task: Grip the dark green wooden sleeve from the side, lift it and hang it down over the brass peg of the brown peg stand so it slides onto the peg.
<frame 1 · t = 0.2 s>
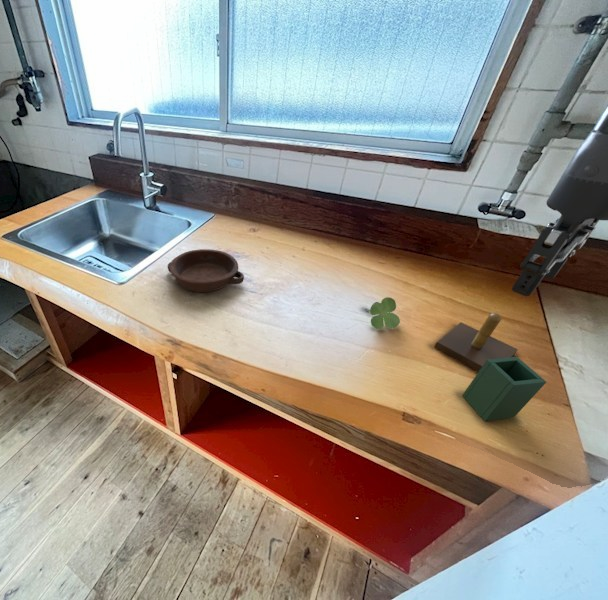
hand: (532, 284, 49), 19 cm above the worktop, tool pointing down, fingers open, 8 cm apart
sleeve: (486, 406, 53), on the worktop
green leafy piece: (380, 321, 72), on the worktop
dish: (204, 280, 88), on the worktop
brown peg stand: (473, 350, 63), on the worktop
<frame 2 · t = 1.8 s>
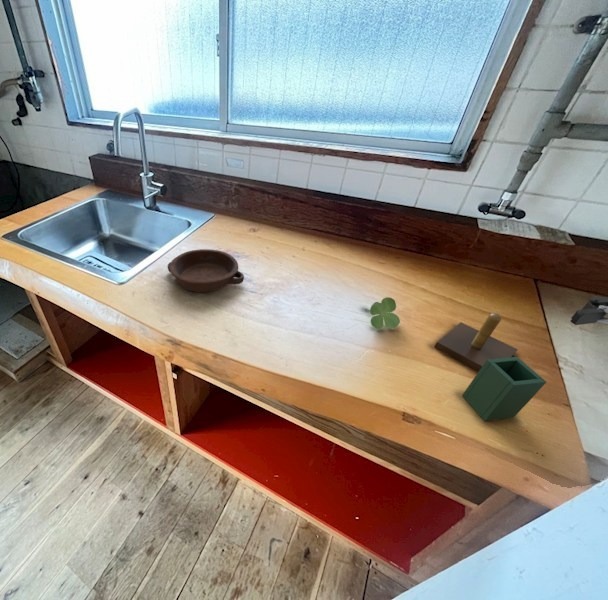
hand: (606, 337, 46), 14 cm above the worktop, tool horizontal, fingers open, 8 cm apart
nothing on the worktop moved.
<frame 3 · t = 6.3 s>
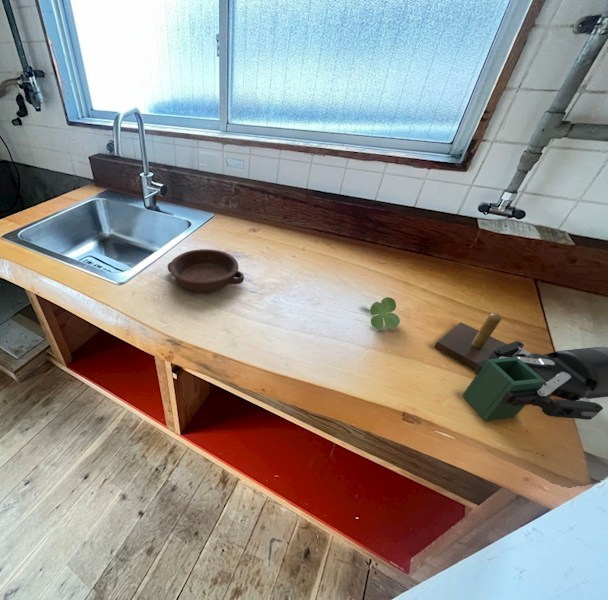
hand: (491, 382, 49), 7 cm above the worktop, tool horizontal, fingers closed on sleeve, 5 cm apart
sleeve: (486, 406, 53), on the worktop, touching gripper
everything else where it was.
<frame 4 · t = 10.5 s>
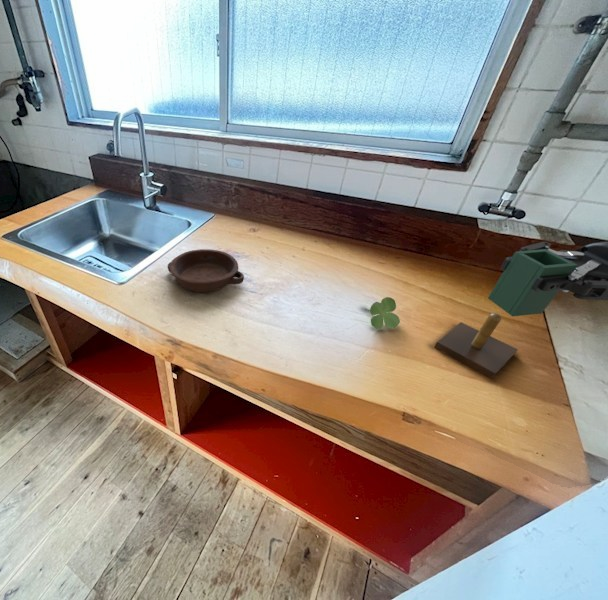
hand: (520, 273, 49), 20 cm above the worktop, tool horizontal, fingers closed on sleeve, 5 cm apart
sleeve: (513, 305, 53), point 14 cm above the worktop, touching gripper
everything else where it was.
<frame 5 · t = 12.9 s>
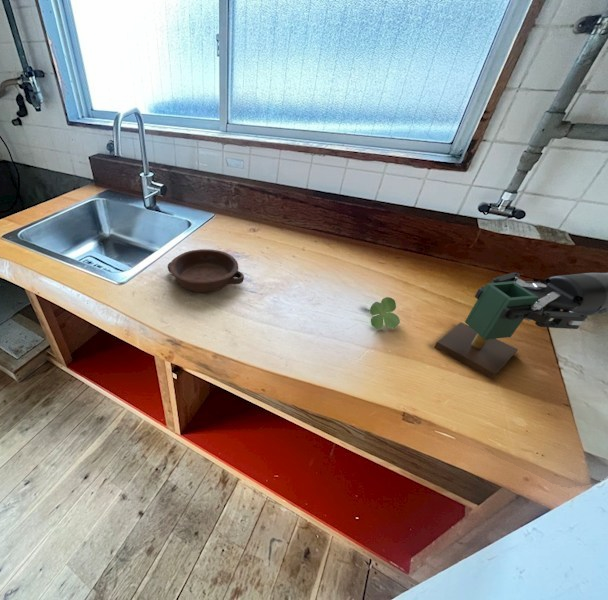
hand: (490, 303, 56), 12 cm above the worktop, tool horizontal, fingers closed on sleeve, 5 cm apart
sleeve: (486, 329, 60), point 6 cm above the worktop, touching gripper
everything else where it was.
when the fingers open (8 cm above the worktop, at t = 14.6 s): sleeve stays where it is, resting on brown peg stand.
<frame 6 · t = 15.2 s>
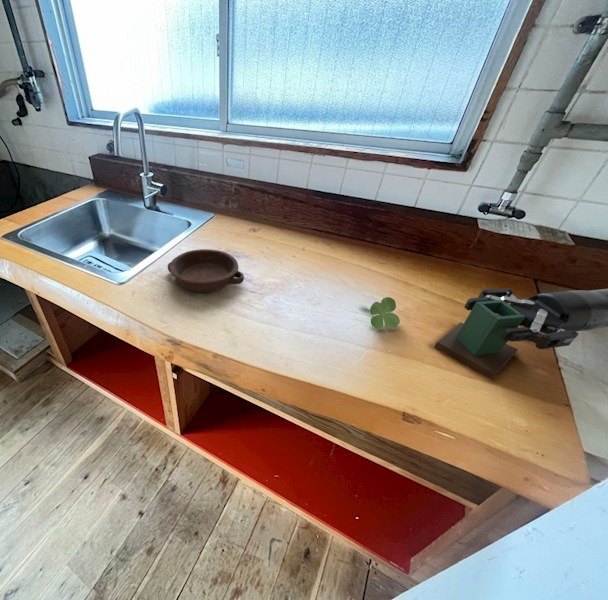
hand: (484, 319, 58), 8 cm above the worktop, tool horizontal, fingers open, 8 cm apart
sleeve: (476, 345, 62), point 1 cm above the worktop, touching brown peg stand
everything else where it was.
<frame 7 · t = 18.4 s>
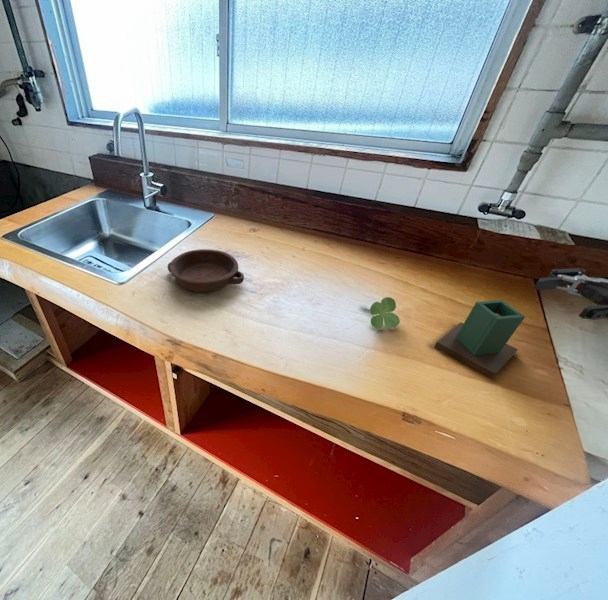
hand: (559, 298, 57), 12 cm above the worktop, tool horizontal, fingers open, 8 cm apart
nothing on the worktop moved.
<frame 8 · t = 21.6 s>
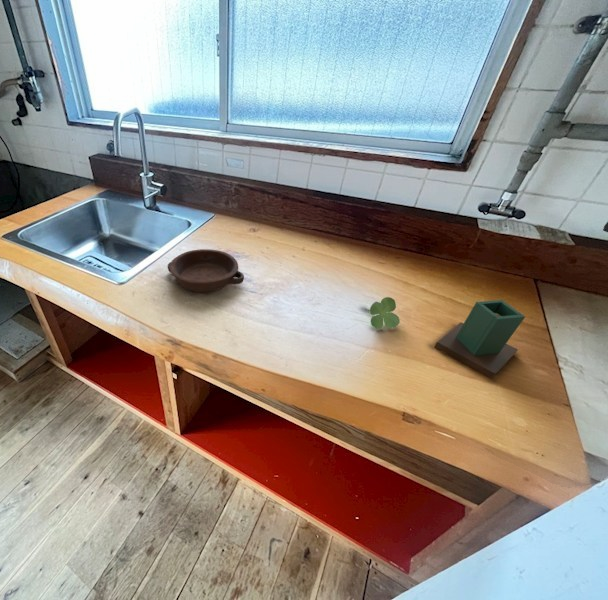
nothing on the worktop moved.
at the end: sleeve 0.1 cm off-centre on the brown peg stand, point 1.5 cm above the brown peg stand's base; sleeve tilted 0°; the gripper is holding nothing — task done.
